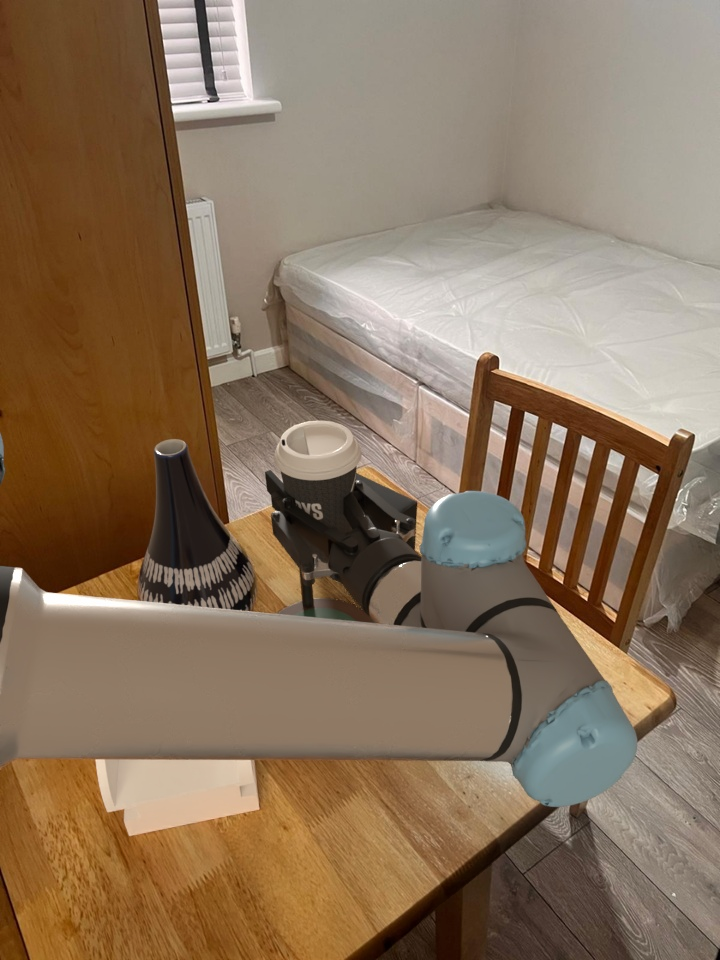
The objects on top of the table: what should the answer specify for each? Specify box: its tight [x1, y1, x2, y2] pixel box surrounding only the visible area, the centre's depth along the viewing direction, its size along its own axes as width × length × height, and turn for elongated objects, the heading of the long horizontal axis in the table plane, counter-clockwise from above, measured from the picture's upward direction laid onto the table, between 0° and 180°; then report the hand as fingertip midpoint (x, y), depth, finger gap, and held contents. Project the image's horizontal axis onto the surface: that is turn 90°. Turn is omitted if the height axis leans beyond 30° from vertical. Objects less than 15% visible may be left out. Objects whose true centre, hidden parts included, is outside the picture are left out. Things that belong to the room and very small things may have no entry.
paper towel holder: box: [276, 568, 374, 623], centre depth 94 cm, size 16×16×14 cm
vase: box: [136, 438, 259, 612], centre depth 94 cm, size 16×16×30 cm
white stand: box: [94, 759, 260, 837], centre depth 76 cm, size 14×13×18 cm
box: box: [355, 472, 418, 552], centre depth 112 cm, size 17×7×12 cm, turn 49°
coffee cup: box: [273, 420, 363, 563], centre depth 83 cm, size 10×10×15 cm
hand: (287, 474), depth 85 cm, fingers closed on coffee cup, 4 cm apart
